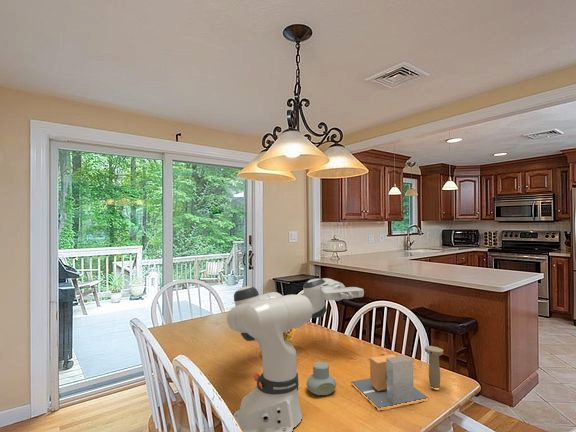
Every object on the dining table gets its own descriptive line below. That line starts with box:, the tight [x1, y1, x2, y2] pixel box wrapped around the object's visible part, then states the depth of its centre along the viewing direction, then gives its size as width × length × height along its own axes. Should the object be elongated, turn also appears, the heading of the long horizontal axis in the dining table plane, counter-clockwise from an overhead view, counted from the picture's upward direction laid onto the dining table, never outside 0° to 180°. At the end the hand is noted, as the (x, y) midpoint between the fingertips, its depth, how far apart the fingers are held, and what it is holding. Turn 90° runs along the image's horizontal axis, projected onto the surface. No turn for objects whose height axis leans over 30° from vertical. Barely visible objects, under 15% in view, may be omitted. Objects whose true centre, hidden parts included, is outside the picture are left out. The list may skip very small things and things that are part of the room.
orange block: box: [369, 353, 398, 391], centre depth 123 cm, size 10×5×10 cm, turn 107°
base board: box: [350, 378, 429, 408], centre depth 121 cm, size 20×19×1 cm
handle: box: [424, 345, 444, 388], centre depth 123 cm, size 5×6×15 cm
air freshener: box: [306, 361, 337, 396], centre depth 123 cm, size 11×8×10 cm
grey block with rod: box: [386, 355, 415, 405], centre depth 120 cm, size 8×16×14 cm, turn 17°
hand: (350, 297), depth 145 cm, fingers closed
